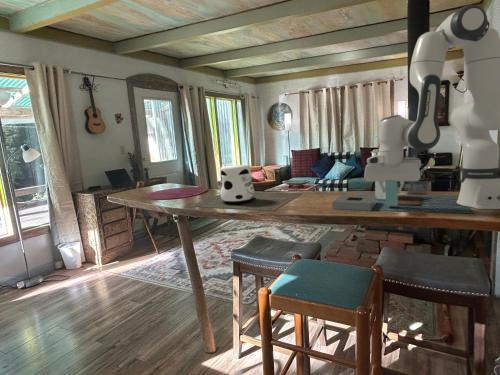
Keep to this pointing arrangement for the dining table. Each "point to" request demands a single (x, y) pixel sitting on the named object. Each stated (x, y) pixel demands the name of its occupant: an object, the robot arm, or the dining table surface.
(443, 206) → the dining table surface
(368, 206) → the socket
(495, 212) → the dining table surface
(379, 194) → the small box
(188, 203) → the dining table surface
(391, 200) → the peg
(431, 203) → the dining table surface
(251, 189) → the milk container
